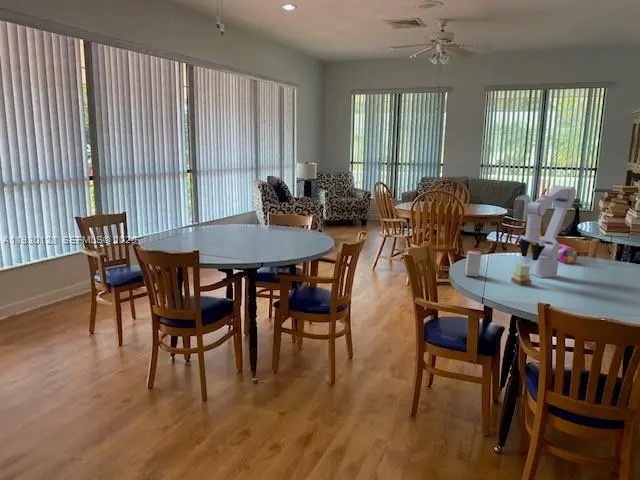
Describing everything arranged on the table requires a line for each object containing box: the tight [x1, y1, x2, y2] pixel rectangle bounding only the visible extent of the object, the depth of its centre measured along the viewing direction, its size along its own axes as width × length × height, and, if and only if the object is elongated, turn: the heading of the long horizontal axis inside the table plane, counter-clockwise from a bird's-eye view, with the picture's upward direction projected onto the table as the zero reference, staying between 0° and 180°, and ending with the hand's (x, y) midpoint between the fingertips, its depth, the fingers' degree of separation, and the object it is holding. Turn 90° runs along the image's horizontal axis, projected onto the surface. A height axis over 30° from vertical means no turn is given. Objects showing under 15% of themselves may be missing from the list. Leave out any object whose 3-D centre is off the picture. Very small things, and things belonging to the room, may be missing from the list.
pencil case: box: [555, 243, 578, 264], centre depth 270 cm, size 22×9×9 cm, turn 5°
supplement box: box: [464, 250, 482, 279], centre depth 230 cm, size 6×6×12 cm
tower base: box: [510, 276, 533, 287], centre depth 221 cm, size 6×6×2 cm
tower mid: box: [512, 271, 531, 281], centre depth 221 cm, size 5×5×2 cm
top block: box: [515, 263, 531, 275], centre depth 219 cm, size 4×4×4 cm
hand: (529, 258), depth 224 cm, fingers open, 7 cm apart
